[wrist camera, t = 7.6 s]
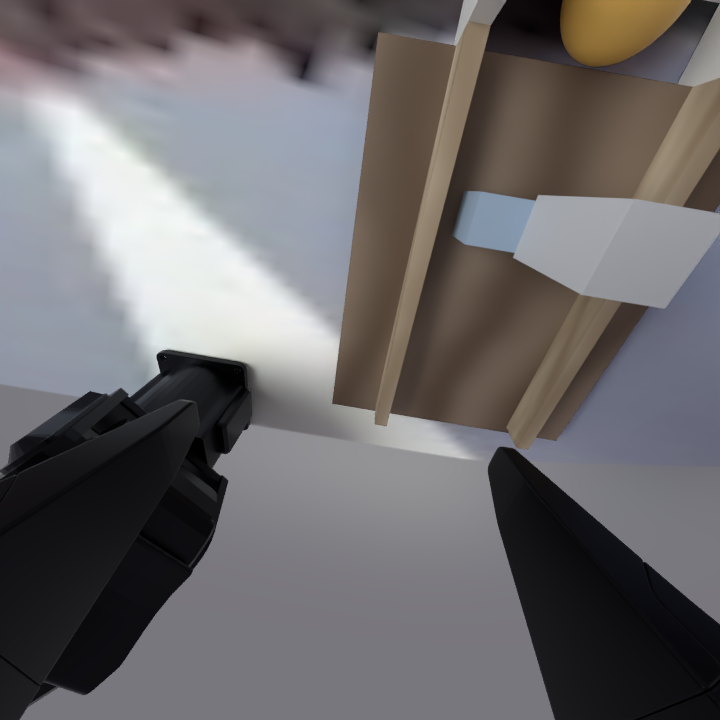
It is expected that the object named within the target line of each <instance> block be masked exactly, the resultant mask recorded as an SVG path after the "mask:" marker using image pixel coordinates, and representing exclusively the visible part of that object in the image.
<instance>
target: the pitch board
mask: <svg viewBox="0 0 720 720" xmlns="http://www.w3.org/2000/svg"><path fill="white" fill-rule="evenodd" d="M490 26H491V25H486V24H481V23H475V22H469V21H468V23H467V25H466V27H465V29H464V31H463V33H462V35H461V37H460V39H459V41H458V43H457V45H456V46H455V45H449V44H443V43H437V42H432V41H426V40H420V39H414V38H409V37H403V36H397V35H391V34H386V33H380V32H378V40H377V48H376V56H375V64H374V72H373V80H372V89H371V97H370V105H369V113H368V121H367V129H366V137H365V145H364V153H363V161H362V169H361V177H360V185H359V193H358V201H357V209H356V217H355V225H354V233H353V241H352V249H351V257H350V265H349V273H348V281H347V290H346V298H345V306H344V314H343V322H342V330H341V338H340V346H339V354H338V362H337V370H336V378H335V386H334V394H333V402H332V404H338V405H344V406H350V407H356V408H362V409H368V410H374V411H375V424H376V425H382V426H387V422H388V418H389V414H390V413H392V414H398V415H404V416H410V417H416V418H422V419H428V420H434V421H440V422H446V423H452V424H458V425H464V426H470V427H476V428H482V429H488V430H495V431H501V432H507V433H509V434H510V436H511V438H512V440H513V442H514V444H515V446H516V448H521V449H527V450H528V449H529V447H530V446H531V444H532V443H533V441H534V440H535V438H536V437H537V438H543V439H549V440H555V441H556V440H557V438H558V437H559V436H560V434H561V433H562V431H563V430H564V428H565V427H566V425H567V424H568V423H569V421H570V420H571V418H572V417H573V415H574V414H575V412H576V411H577V410H578V408H579V407H580V405H581V404H582V402H583V401H584V399H585V398H586V396H587V395H588V394H589V392H590V391H591V389H592V388H593V386H594V385H595V383H596V382H597V381H598V379H599V378H600V376H601V375H602V373H603V372H604V370H605V369H606V368H607V366H608V365H609V363H610V362H611V360H612V359H613V357H614V356H615V355H616V353H617V352H618V350H619V349H620V347H621V346H622V344H623V343H624V341H625V340H626V339H627V337H628V336H629V334H630V333H631V331H632V330H633V328H634V327H635V326H636V324H637V323H638V321H639V320H640V318H641V317H642V315H643V314H644V313H645V311H646V310H647V308H648V307H649V306H645V305H639V304H633V303H627V302H621V301H615V300H609V299H603V298H597V297H591V296H585V295H581V294H579V293H577V292H575V291H574V290H572V289H570V288H568V287H566V286H564V285H563V284H561V283H559V282H557V281H555V280H553V279H551V278H550V277H548V276H546V275H544V274H542V273H540V272H539V271H537V270H535V269H533V268H531V267H529V266H528V265H526V264H524V263H522V262H520V261H518V260H516V259H515V258H513V257H514V254H515V253H512V252H507V251H501V250H495V249H489V248H483V247H477V246H471V245H465V244H464V243H462V242H461V241H459V240H458V239H457V238H455V237H454V236H452V232H453V228H454V225H455V221H456V218H457V214H458V211H459V207H460V204H461V200H462V197H463V193H464V191H480V192H487V193H493V194H499V195H505V196H511V197H516V198H522V199H528V200H534V201H536V199H537V197H538V195H548V196H574V197H599V198H625V199H638V200H644V201H650V202H656V203H662V204H668V205H674V206H679V207H685V208H691V209H697V210H703V211H709V212H714V211H715V210H716V208H717V207H718V205H719V204H720V78H718V79H715V80H712V81H709V82H706V83H703V84H700V85H697V86H694V87H691V86H685V85H679V84H674V83H668V82H662V81H656V80H651V79H645V78H639V77H633V76H628V75H622V74H616V73H610V72H605V71H599V70H593V69H587V68H581V67H576V66H570V65H564V64H558V63H553V62H547V61H541V60H535V59H530V58H524V57H518V56H512V55H507V54H501V53H495V52H489V51H484V49H485V46H486V42H487V38H488V34H489V30H490Z"/></svg>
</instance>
